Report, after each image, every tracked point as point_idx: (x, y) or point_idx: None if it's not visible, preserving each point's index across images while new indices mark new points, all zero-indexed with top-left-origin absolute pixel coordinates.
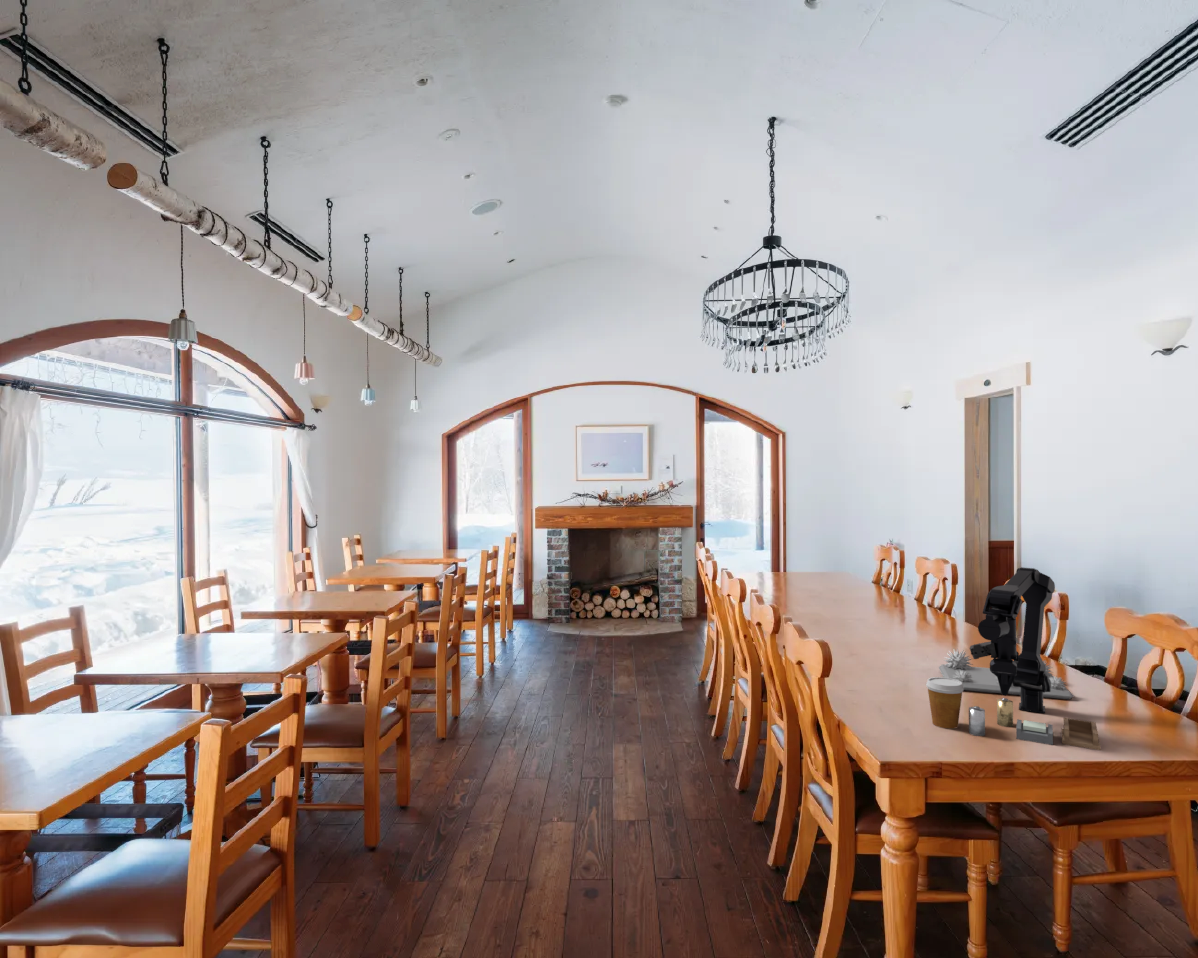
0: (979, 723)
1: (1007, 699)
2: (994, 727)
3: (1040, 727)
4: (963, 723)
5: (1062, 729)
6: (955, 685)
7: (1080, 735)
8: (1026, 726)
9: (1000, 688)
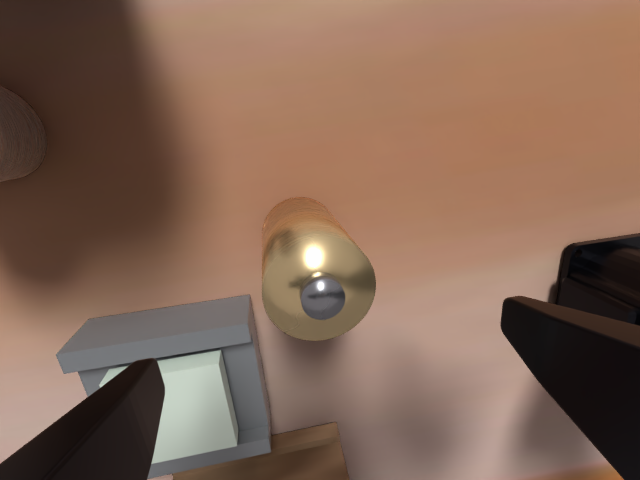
0: None
1: (316, 318)
2: (204, 198)
3: None
4: (144, 17)
5: (326, 440)
6: None
7: None
8: None
9: (57, 422)
